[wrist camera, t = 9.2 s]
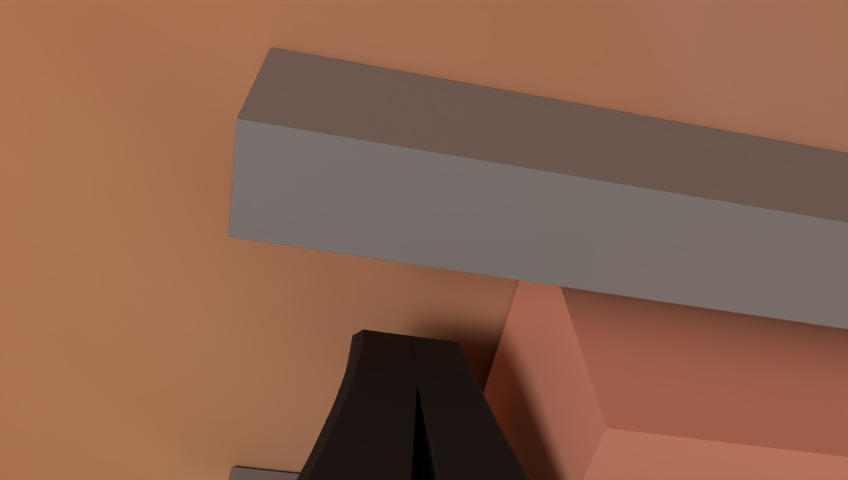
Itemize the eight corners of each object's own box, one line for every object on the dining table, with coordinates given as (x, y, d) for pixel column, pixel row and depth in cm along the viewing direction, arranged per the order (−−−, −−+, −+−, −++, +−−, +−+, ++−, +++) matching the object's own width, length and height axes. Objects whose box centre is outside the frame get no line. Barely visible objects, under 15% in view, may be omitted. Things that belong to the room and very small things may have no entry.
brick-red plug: (930, 494, 12) (1101, 720, 9) (468, 441, 11) (492, 676, 8) (1087, 306, 10) (1370, 521, 7) (538, 220, 9) (607, 428, 6)
